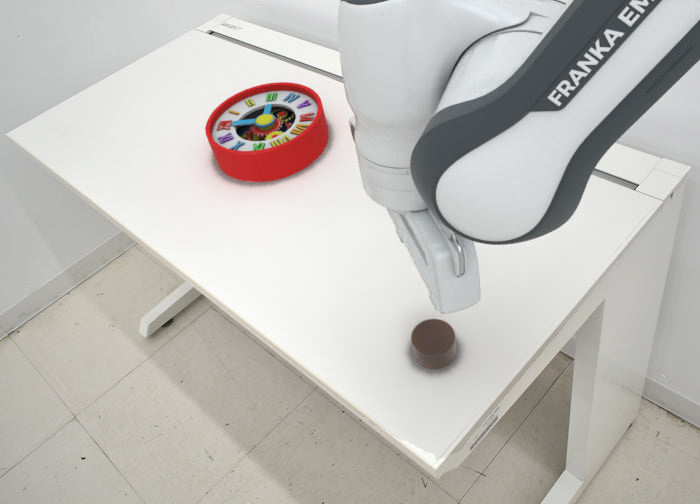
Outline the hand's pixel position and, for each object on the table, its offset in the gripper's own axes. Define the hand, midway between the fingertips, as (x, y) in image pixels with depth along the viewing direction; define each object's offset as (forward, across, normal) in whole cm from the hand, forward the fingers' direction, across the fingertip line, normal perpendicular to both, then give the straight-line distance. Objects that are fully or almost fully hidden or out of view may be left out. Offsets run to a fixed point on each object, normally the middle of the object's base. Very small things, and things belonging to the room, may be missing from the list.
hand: (423, 268), depth 61 cm
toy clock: (+15, +50, +10) cm, 53 cm away
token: (+15, 0, 0) cm, 15 cm away
